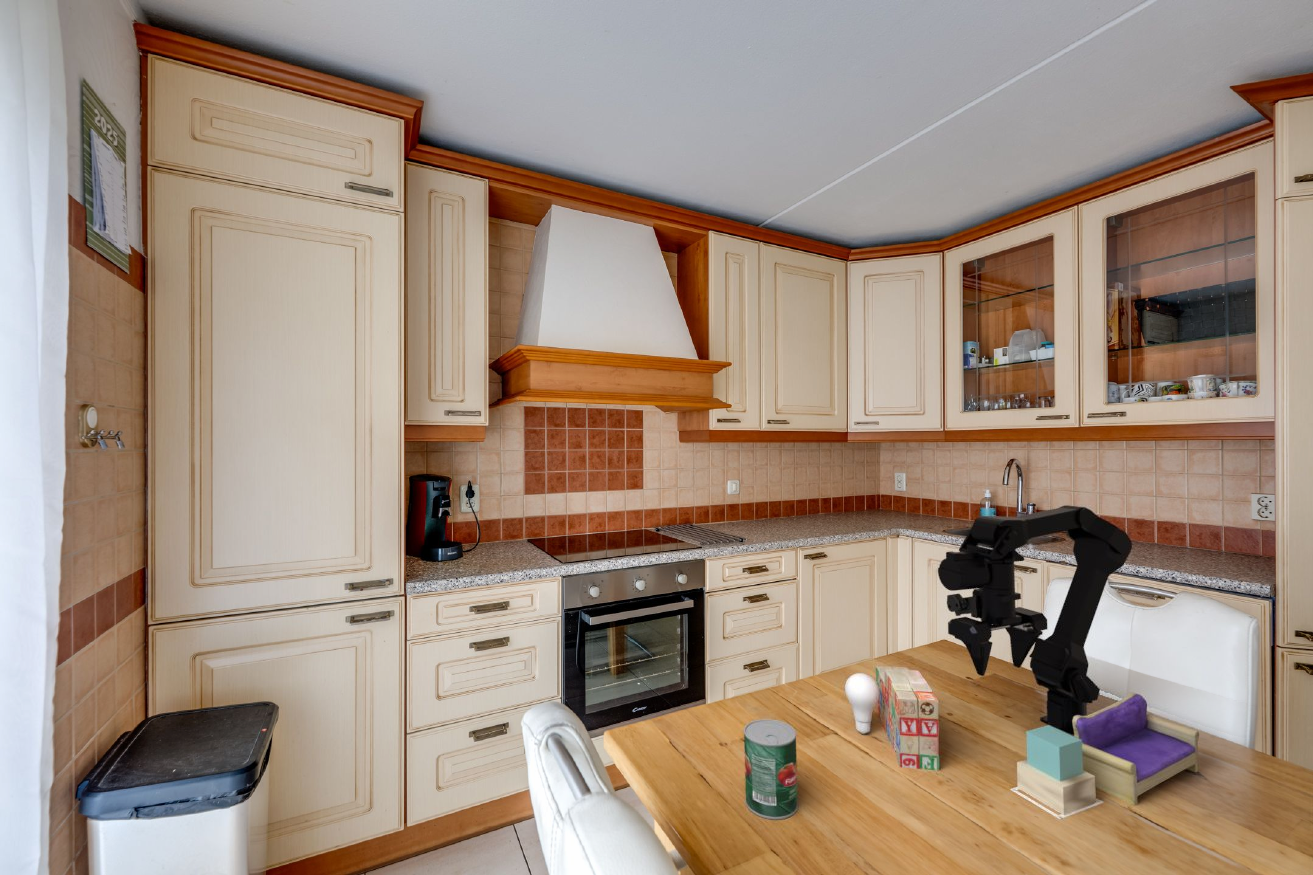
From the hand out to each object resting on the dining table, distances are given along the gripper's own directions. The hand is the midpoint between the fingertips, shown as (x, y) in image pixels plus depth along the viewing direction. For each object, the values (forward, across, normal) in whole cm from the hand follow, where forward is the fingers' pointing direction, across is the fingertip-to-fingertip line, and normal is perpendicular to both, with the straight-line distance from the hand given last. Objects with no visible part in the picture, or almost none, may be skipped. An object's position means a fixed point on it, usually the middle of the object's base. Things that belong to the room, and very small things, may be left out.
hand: (999, 670), depth 105 cm
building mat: (+12, +9, +15) cm, 21 cm away
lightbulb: (+12, +22, -11) cm, 27 cm away
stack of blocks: (+12, +16, -6) cm, 22 cm away
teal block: (+8, +9, +16) cm, 20 cm away
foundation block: (+12, +9, +16) cm, 22 cm away
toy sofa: (+12, -8, +17) cm, 23 cm away
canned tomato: (+12, +49, 0) cm, 51 cm away
